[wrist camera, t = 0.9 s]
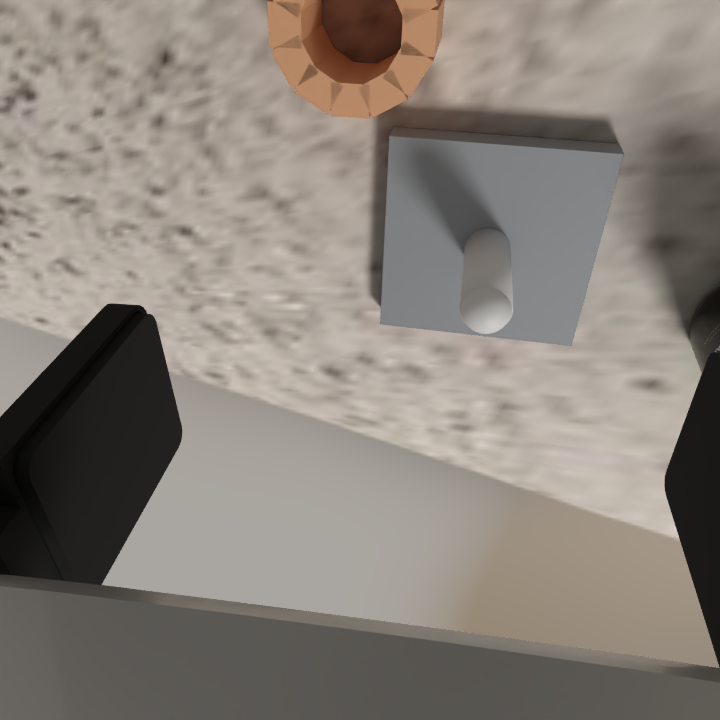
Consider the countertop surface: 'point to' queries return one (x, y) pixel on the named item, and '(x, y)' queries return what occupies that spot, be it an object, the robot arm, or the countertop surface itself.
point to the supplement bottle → (706, 328)
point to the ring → (340, 74)
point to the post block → (493, 231)
